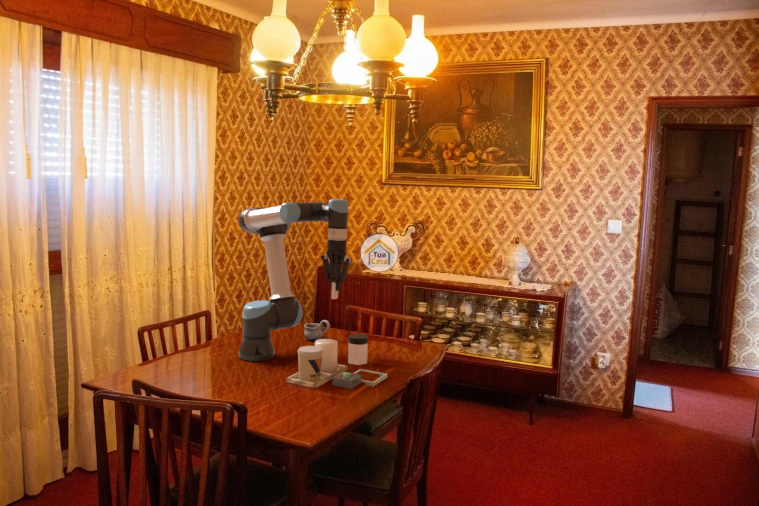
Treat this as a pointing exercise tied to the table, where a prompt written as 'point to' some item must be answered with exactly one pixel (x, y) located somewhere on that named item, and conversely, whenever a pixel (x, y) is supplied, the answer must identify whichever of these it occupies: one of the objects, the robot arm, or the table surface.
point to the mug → (315, 330)
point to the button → (347, 374)
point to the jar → (357, 349)
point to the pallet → (323, 379)
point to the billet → (328, 354)
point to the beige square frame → (370, 383)
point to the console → (346, 380)
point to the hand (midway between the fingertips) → (334, 298)
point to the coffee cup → (309, 363)
